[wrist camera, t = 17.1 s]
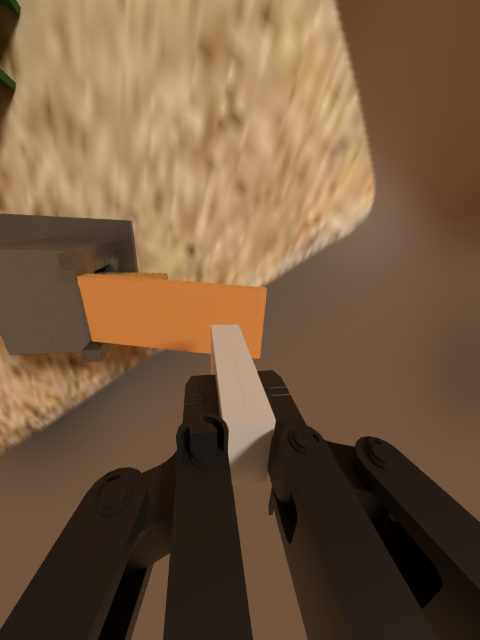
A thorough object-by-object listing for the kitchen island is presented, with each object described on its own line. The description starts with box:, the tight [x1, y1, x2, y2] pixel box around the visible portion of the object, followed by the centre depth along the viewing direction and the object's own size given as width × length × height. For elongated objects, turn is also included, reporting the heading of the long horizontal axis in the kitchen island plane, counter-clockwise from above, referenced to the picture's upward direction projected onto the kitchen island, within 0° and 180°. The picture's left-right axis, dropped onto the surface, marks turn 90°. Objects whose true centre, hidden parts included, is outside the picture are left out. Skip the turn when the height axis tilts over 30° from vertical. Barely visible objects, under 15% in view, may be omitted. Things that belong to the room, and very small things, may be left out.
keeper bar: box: [77, 273, 267, 359], centre depth 16 cm, size 5×1×13 cm
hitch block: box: [0, 214, 138, 362], centre depth 19 cm, size 12×16×10 cm
